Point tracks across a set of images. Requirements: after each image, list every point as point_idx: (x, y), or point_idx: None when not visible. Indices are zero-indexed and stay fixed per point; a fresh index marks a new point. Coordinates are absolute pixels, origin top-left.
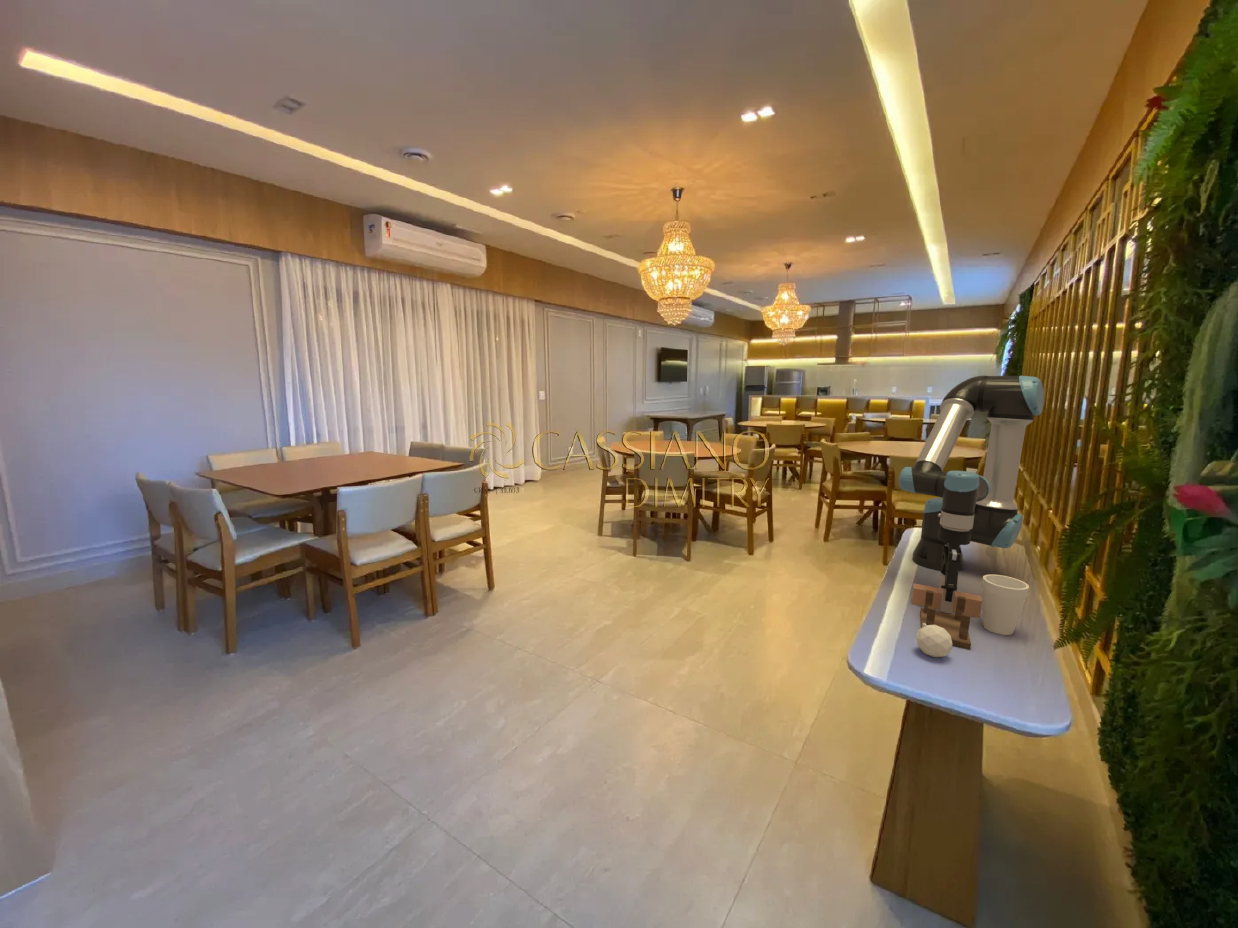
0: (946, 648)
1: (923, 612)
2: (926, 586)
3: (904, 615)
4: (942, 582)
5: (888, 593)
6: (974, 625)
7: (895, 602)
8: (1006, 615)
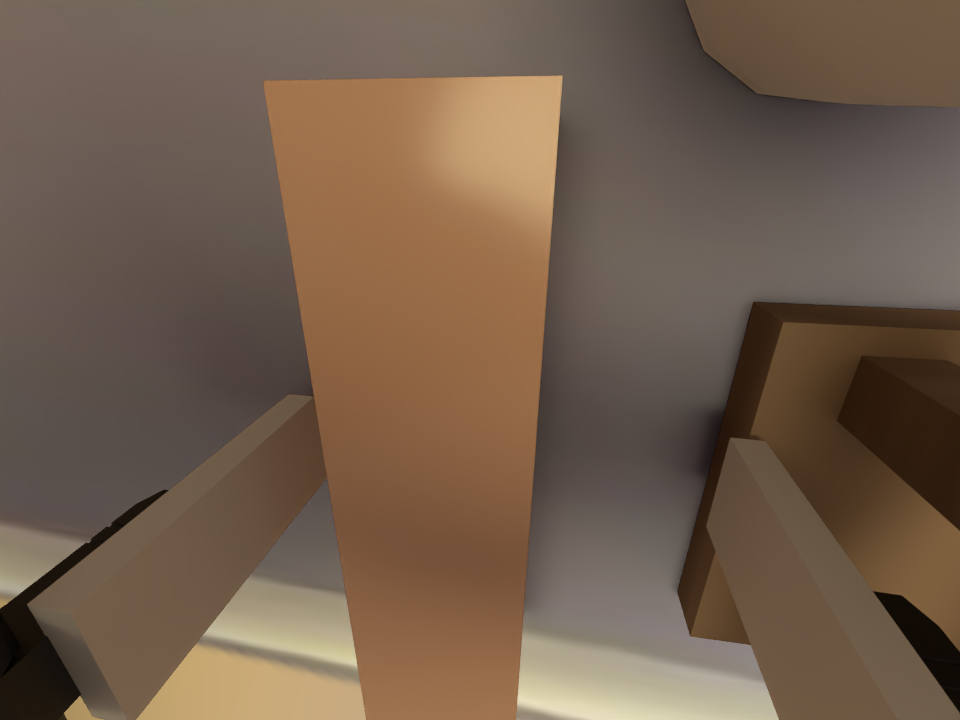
0: None
1: None
2: (382, 676)
3: None
4: (215, 587)
5: None
6: (829, 203)
7: (555, 685)
8: None
